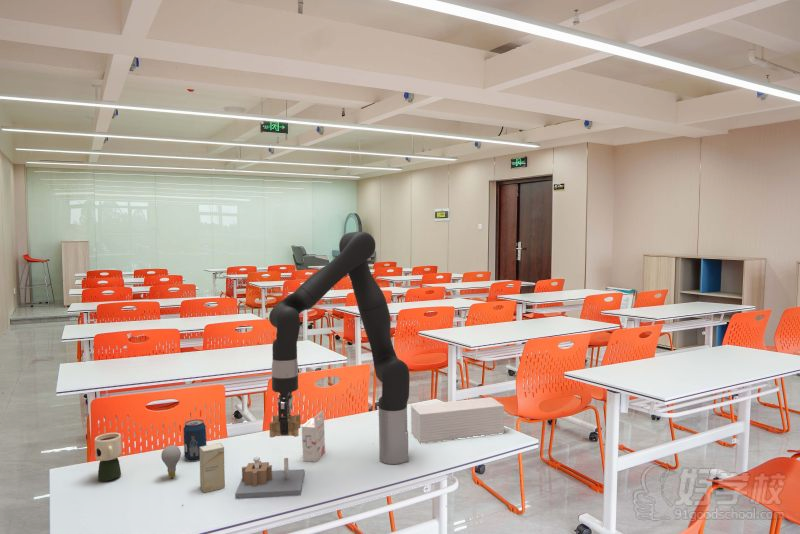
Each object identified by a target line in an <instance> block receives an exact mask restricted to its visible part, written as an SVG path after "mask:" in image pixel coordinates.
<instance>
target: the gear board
mask: <svg viewBox="0 0 800 534" xmlns="http://www.w3.org/2000/svg"><path fill="white" fill-rule="evenodd" d="M252 460H253V462H248V463H247V464H246V466H242V467H241V479H240V481H239V483H238V486H237V488H236V491H235V493H234V498H235V500H238V499H239V500H240V499H256V498H258V499H259V498H273V497H274V498H275V497H291V496H292V497H293V496H294V497H295V496H301V495H302V490H303V486H304V479H305V472H306V470H305V469H303V468H301V469H300V468H299V469H289V458H288V457H284V459H283V468H284V469H282V470H281V469H280V470H273V469H272V467H273V465H270V462H267V461H265V462H262V461H261V458H260V457H259V456H255V457H253V459H252Z"/></svg>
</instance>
